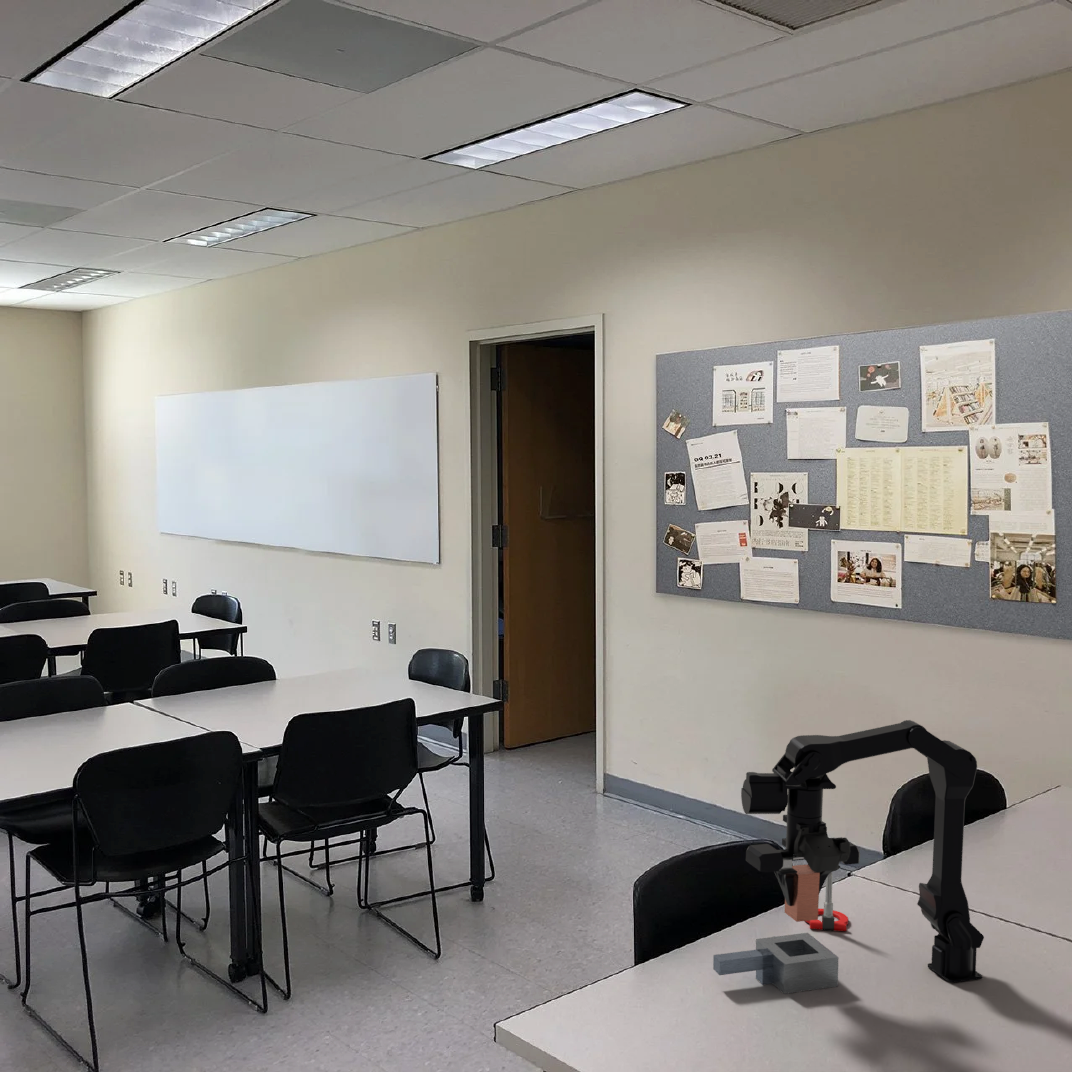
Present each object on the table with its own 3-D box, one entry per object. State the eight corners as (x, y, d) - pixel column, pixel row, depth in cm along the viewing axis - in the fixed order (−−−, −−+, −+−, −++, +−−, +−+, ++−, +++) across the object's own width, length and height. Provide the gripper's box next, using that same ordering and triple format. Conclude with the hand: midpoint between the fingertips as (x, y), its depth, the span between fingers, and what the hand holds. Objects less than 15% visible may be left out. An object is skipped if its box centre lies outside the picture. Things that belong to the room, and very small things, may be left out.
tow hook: (800, 912, 216) (805, 930, 206) (802, 847, 215) (806, 861, 206) (845, 916, 214) (851, 933, 205) (846, 849, 214) (853, 864, 205)
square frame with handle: (807, 960, 194) (807, 932, 193) (837, 986, 184) (838, 957, 184) (703, 973, 188) (703, 945, 188) (729, 1001, 179) (729, 971, 178)
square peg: (805, 910, 189) (807, 864, 188) (817, 919, 185) (819, 872, 184) (784, 912, 187) (786, 866, 187) (796, 921, 184) (798, 874, 183)
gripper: (778, 832, 175) (775, 929, 176) (880, 824, 180) (876, 917, 181) (745, 811, 185) (742, 902, 186) (843, 804, 191) (839, 892, 192)
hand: (801, 904), depth 186 cm, fingers closed on square peg, 4 cm apart
